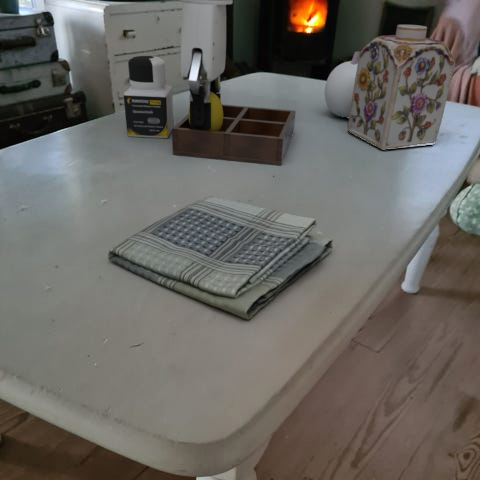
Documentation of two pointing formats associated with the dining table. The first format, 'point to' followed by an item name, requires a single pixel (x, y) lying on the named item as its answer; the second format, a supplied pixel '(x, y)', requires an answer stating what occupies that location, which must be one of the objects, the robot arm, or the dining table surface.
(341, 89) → the ornament
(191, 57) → the robot arm
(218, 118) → the lemon
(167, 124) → the medicine bottle
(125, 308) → the dining table surface
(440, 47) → the decorative jar
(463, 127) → the dining table surface
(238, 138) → the divided wooden tray
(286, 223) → the dish towel
